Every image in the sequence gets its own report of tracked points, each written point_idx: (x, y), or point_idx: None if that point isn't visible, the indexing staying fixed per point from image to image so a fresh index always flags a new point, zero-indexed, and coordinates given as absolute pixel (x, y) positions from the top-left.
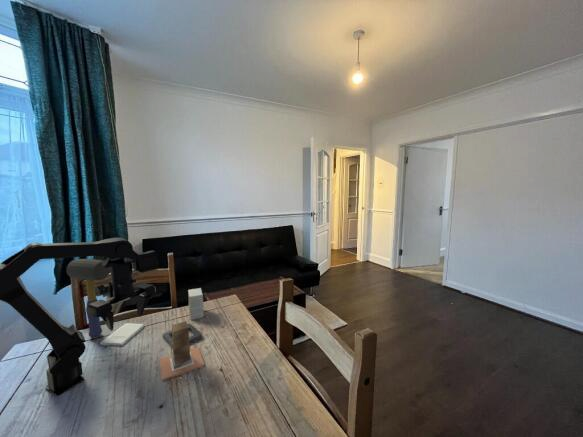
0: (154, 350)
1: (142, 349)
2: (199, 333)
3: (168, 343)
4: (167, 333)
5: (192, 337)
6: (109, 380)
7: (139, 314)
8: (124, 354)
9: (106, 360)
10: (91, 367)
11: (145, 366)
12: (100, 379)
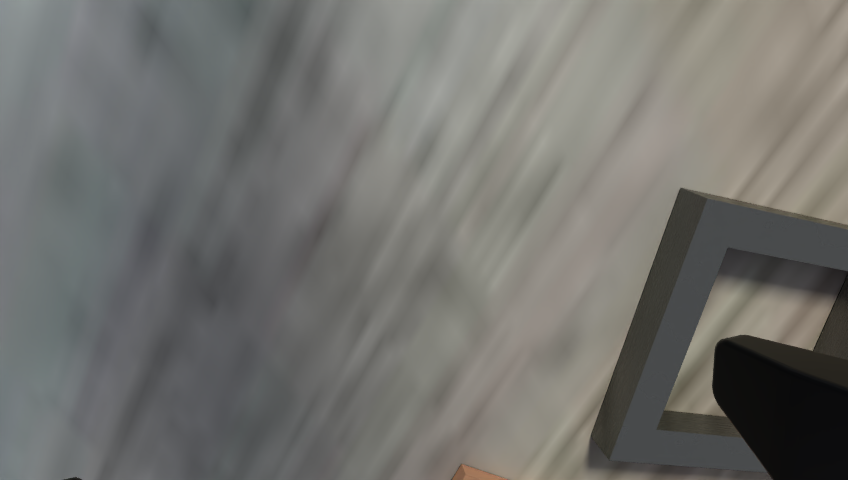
0: (520, 309)
1: (476, 202)
2: None
3: (635, 335)
4: (733, 229)
5: (759, 461)
6: (88, 394)
7: (746, 417)
8: (335, 127)
9: (171, 63)
10: (12, 45)
11: (358, 447)
12: (32, 321)
